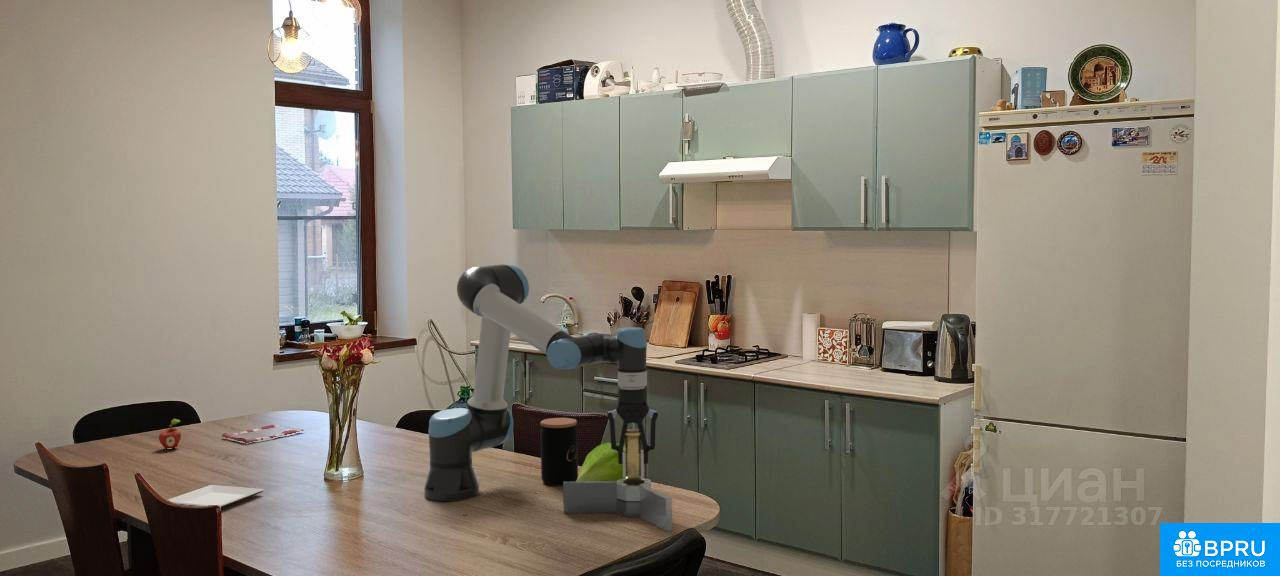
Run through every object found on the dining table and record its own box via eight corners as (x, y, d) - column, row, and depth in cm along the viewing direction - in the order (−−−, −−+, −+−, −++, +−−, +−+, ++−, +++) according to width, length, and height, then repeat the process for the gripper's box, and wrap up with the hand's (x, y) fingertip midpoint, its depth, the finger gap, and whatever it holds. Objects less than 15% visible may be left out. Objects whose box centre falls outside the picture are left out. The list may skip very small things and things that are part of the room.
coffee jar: (572, 487, 285) (571, 425, 283) (536, 485, 287) (535, 424, 286) (582, 478, 295) (581, 418, 294) (547, 476, 297) (546, 417, 296)
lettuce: (604, 515, 265) (568, 511, 276) (660, 481, 280) (624, 478, 291) (589, 463, 263) (554, 462, 274) (647, 432, 278) (611, 431, 289)
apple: (175, 451, 338) (174, 422, 338) (155, 451, 338) (154, 422, 338) (186, 446, 346) (184, 417, 345) (166, 446, 346) (165, 418, 346)
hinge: (556, 531, 244) (556, 499, 243) (565, 507, 264) (565, 477, 264) (672, 531, 243) (671, 498, 242) (672, 507, 263) (671, 477, 263)
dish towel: (220, 440, 357) (220, 433, 357) (278, 429, 376) (278, 422, 376) (246, 446, 347) (246, 438, 347) (305, 434, 366) (304, 427, 365)
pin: (624, 494, 257) (623, 433, 256) (624, 489, 261) (624, 429, 260) (642, 494, 256) (641, 433, 255) (643, 489, 261) (642, 429, 260)
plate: (265, 496, 281) (264, 488, 281) (217, 514, 263) (217, 506, 263) (211, 491, 287) (211, 484, 287) (161, 508, 269) (161, 501, 269)
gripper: (598, 389, 254) (599, 479, 255) (665, 389, 253) (666, 479, 255) (600, 385, 261) (601, 472, 263) (665, 384, 261) (666, 472, 262)
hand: (633, 475), depth 259 cm, fingers closed on pin, 4 cm apart
